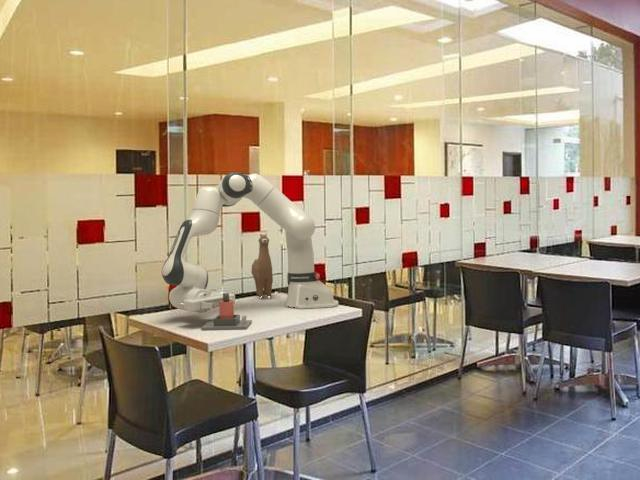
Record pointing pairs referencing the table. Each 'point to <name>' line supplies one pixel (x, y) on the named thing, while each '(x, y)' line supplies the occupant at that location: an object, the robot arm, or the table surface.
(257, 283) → the toy
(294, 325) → the table surface
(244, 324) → the dock
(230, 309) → the plug
